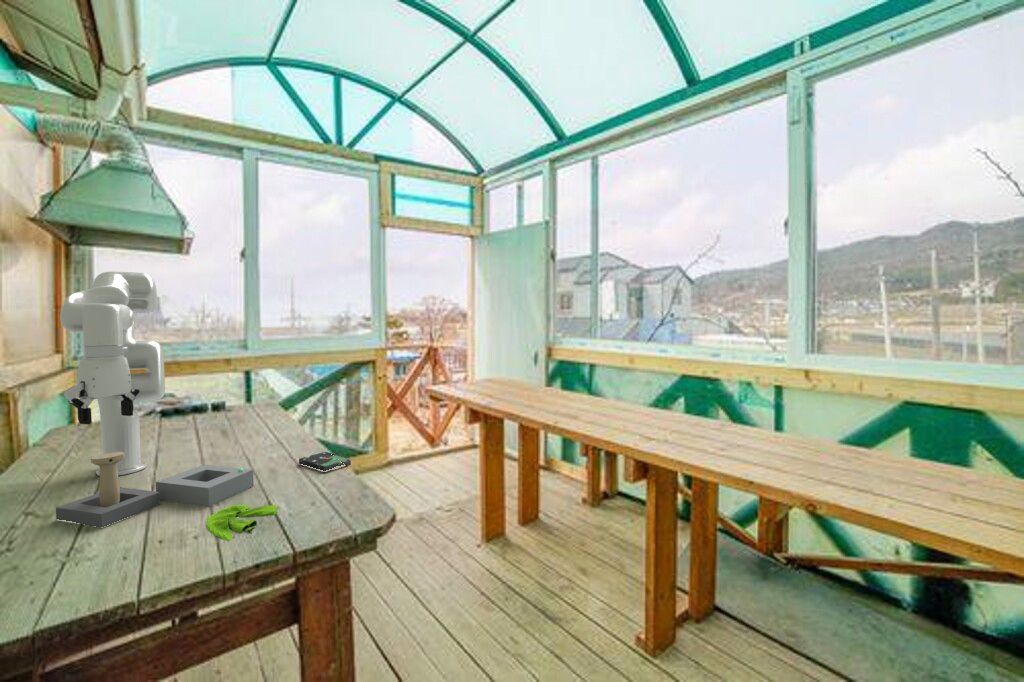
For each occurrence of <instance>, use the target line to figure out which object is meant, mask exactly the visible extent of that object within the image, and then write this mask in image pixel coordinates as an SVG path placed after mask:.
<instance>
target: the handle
mask: <svg viewBox="0 0 1024 682" xmlns="http://www.w3.org/2000/svg"><path fill="white" fill-rule="evenodd" d="M124 457H125V453H124V452H113V453H107V454H102V453H101V454H97V455H94V456H91V457H90V463H91V464H92V465H96V466H99V468H100V476H99V486H98V488H99V489H98V493H99V499H100V505H101V507H105V508H106V507H109V506H112V505H114V504H117V503H119V501H120V480H119V475H118V470H117V463H118V462H119V461H121V460H122V459H124Z"/></svg>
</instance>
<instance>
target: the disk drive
mask: <svg viewBox="0 0 1024 682" xmlns="http://www.w3.org/2000/svg"><path fill="white" fill-rule="evenodd" d="M331 454H332V455H331ZM333 455H334V456H333ZM338 459H339V460H338ZM340 461H341V462H342V463H341V462H340ZM351 461H352V460H350V458H348V457H347V456H342V455H339V454H335V453H331V452H328V451H322V452H319V453H315V454H312V455H309V456H308V457H307V456H306V457H305V456H303V457H300V458H298V465H299V464H303V465H307V466H310V467H313V468H316V469H320V470H323V471H326V470H329V469H332V468H334V467H336V466H341V465H344V464H345V465H347V466H346V467H348V466H351V463H352V462H351ZM343 463H344V464H343Z"/></svg>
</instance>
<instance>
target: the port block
mask: <svg viewBox="0 0 1024 682" xmlns="http://www.w3.org/2000/svg"><path fill="white" fill-rule="evenodd" d="M254 485H255V484H254V469H251V468H250V469H249V468H241V467H231V466H222V465H221V466H220V465H214V464H213V465H211V464H203V465H200V466H197V467H194V468H192V469H189V470H188V469H187V470H185V471H182V472H179V473H176V474H174V475H171V476H168V477H165V478H163V479H160V480H157V481H155V492H160V501H165V502H172V503H179V504H180V503H182V504H186V505H187V504H188V505H196V506H202V507H212V506H213V505H215V504H218V503H220V502H222V501H224V500H226V499H229V498H231V497H233V496H235V495H237V494H239V493H242V492H244V491H246V490H249V489H251V488H253V487H254ZM250 487H251V488H250ZM248 488H249V489H248Z"/></svg>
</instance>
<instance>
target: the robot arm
mask: <svg viewBox="0 0 1024 682" xmlns="http://www.w3.org/2000/svg"><path fill="white" fill-rule="evenodd" d="M157 307H158V294H157V286H156V282H155V281H154V279H153V277H152V276H150V275H149V274H148V273H143V272H126V271H104V272H101V273H100V274H98V275H97V276H96V277H95V279H94V281H93V284H92V287H90V288H88V289H87V288H86V289H83V290H80V291H77V292H74V293H71V294H70V295H68V296H67V297H66V298H65V300H64V302H63V305H62V306H61V309H60V315H59V320H60V323H61V326H62V328H64V329H65V330H67V331H69V332H72V333H73V332H74V333H82V339H83V340H82V342H83V358H82V359H79V362H78V367H77V371H76V380H75V381H76V383H75V385H74V386H72V387H71V388H69V389H67V390H65V391H64V392H63V395H64V397H65V398H66V400H67V401H68V403H69V404H71V405H73V406H74V408H75V409H77V420H78V423H79V424H80V425H91V424H92V409H91V407H89V406H90V405H91V404H92V403H93V402H94V400H97V404H98V409H99V417H100V418H99V419H100V436H101V437H100V438H101V439H100V441H101V454H107V453H113V452H124V453H125V457H124V459H122V460H121V461H119V462H118V463H117V470H118V476H124V475H129V474H132V473H136V472H139V471H141V470H144V469H145V468H146V467H147V465H148V463H147V461H144V460H142V459H141V457H142V456H141V437H140V434H141V433H140V432H141V431H140V416H139V414H138V413H139V412H138V411H136V410H135V409H134V403H140V402H141V403H142V402H153V401H154V402H155V401H158V400H160V399H162V398H163V397H164V396H165V392H166V382H165V381H166V379H165V378H166V376H165V358H164V357H165V356H164V350H163V347H162V345H161V344H160V343H159V342H157V341H154V340H136V339H135V326H134V324H135V314H147V313H148V314H149V313H153V312H154V311H155V310H156V309H157ZM131 370H145V371H147V372H137V373H136V372H134V373H133V372H131ZM95 472H96V473H95V475H96V474H97V476H98V477H100V467H99V468H98V469H97V470H95Z"/></svg>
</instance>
